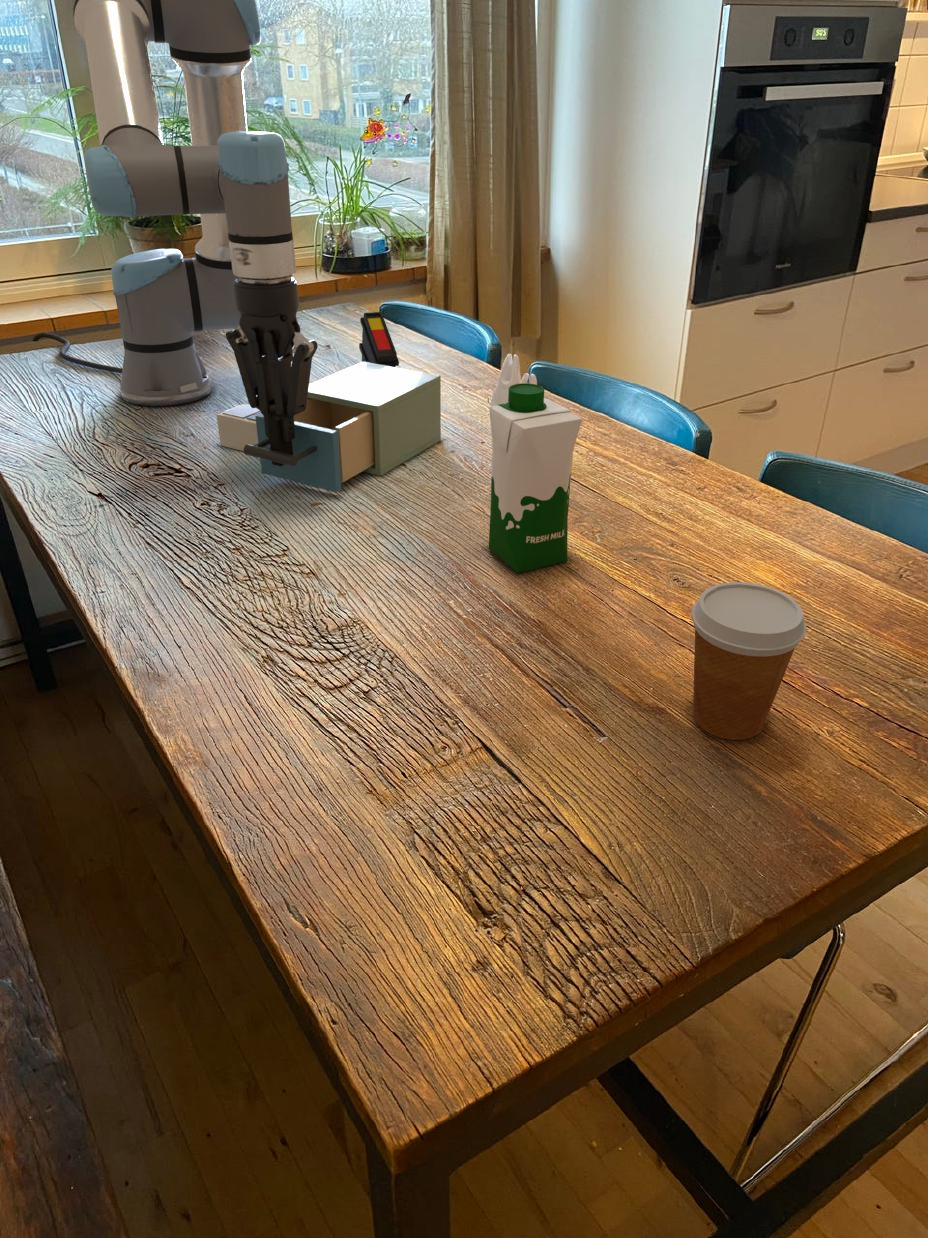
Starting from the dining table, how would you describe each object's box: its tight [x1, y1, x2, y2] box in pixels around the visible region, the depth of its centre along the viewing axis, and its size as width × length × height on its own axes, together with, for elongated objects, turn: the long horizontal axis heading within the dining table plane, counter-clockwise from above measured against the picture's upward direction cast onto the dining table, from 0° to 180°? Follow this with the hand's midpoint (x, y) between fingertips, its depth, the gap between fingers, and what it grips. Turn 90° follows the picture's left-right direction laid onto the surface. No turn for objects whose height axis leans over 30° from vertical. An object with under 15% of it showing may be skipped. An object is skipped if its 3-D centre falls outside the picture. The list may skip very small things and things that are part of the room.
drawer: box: [243, 398, 375, 493], centre depth 128 cm, size 21×13×8 cm, turn 150°
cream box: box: [216, 403, 262, 452], centre depth 140 cm, size 8×6×5 cm
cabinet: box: [307, 361, 442, 477], centre depth 138 cm, size 17×14×10 cm
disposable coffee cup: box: [691, 581, 807, 741], centre depth 81 cm, size 10×10×12 cm
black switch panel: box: [358, 311, 400, 367], centre depth 155 cm, size 4×13×15 cm, turn 19°
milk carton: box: [488, 383, 583, 574], centre depth 106 cm, size 9×9×20 cm
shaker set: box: [489, 353, 538, 407], centre depth 147 cm, size 12×4×11 cm, turn 22°
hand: (282, 461), depth 122 cm, fingers closed
